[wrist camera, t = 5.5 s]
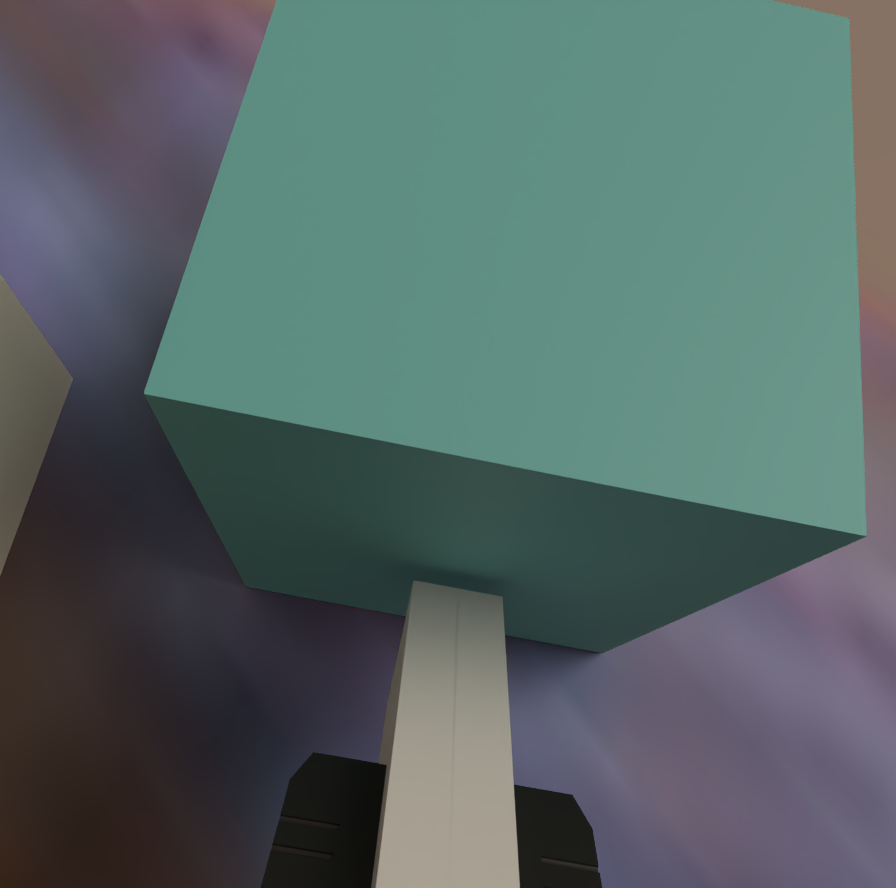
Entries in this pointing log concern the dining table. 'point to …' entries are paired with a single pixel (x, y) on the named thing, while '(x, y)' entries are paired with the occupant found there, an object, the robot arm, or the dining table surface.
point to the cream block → (24, 409)
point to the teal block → (528, 309)
